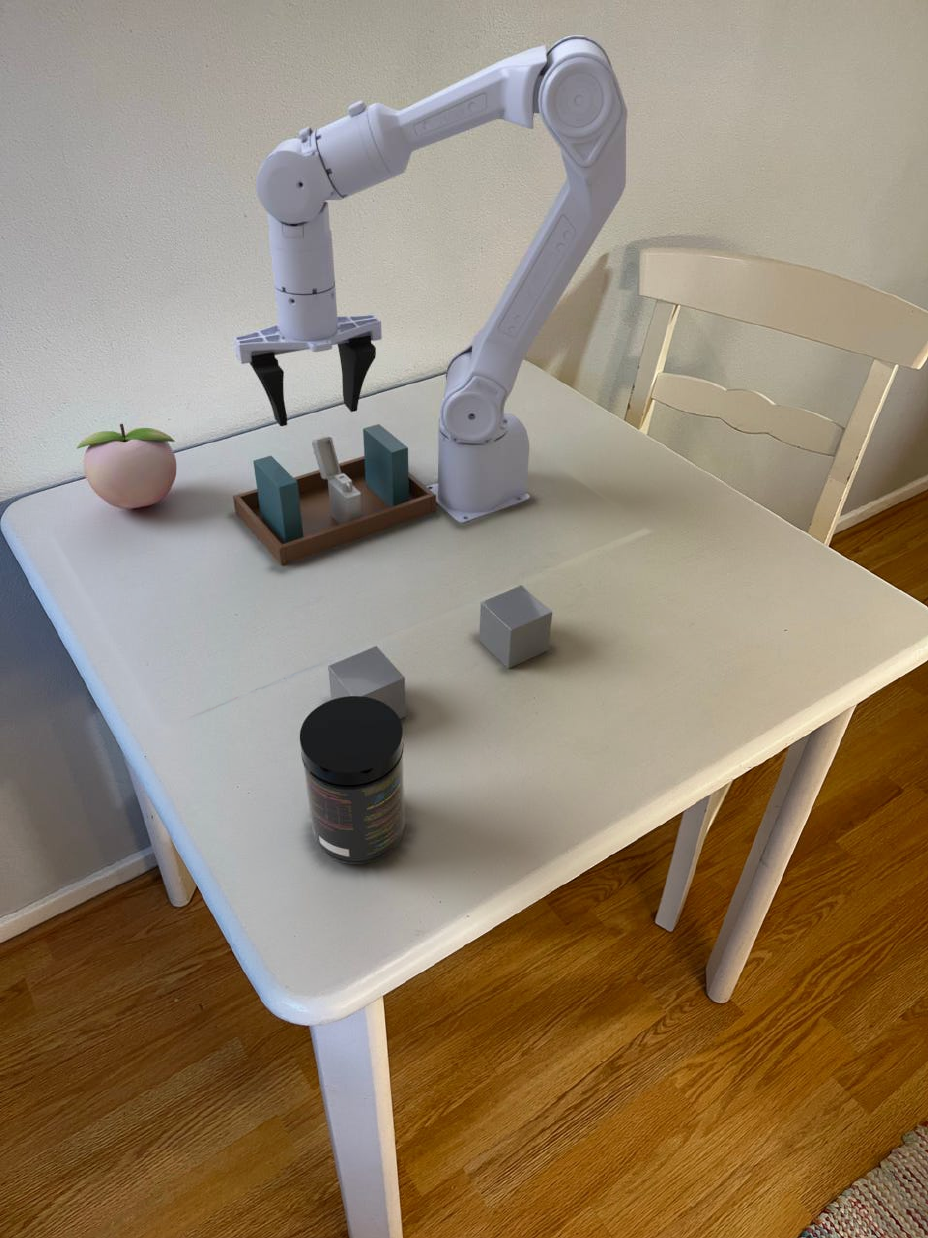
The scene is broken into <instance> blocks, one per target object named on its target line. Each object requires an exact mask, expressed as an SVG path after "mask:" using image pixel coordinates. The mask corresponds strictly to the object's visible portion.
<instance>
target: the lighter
mask: <svg viewBox="0 0 928 1238" xmlns="http://www.w3.org/2000/svg"><path fill="white" fill-rule="evenodd" d="M311 445H312V448H313V452H314V455H315V459H316V463H317V467H318V470H320V474H321V477H322V479H325V480H328V488H329V500H330V512H331V516H332V517H333V518H334V519H335V520H336V521H337V522H338V523H339V524H340V525H341V524H343V523H346V522H349V521H352V520H355V519H358V518H361V517H362V506H361V493H360V492H359V491H358V490H357V489H356V488H355V487H354V486H353V485H352V480H351V479H350V478H348V477H347V476H346V475H345V474H344V473H343V474H341V470H340V466H339V463H340V462H339V460H338V456H337V452H336V448H335V445H334V440H333V438H332V437H331V436H323V437H320V438H316V439H314V440H312V442H311Z"/></svg>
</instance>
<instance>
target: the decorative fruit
mask: <svg viewBox="0 0 928 1238" xmlns="http://www.w3.org/2000/svg"><path fill="white" fill-rule="evenodd" d="M119 428H120V432H118V431H117V432H116V431H114V430H113V431H111V430H103V431H98V432H95V433H92V434H90V435H88V436H87V437H86V438H84V439H83V440H82V441H81V442H80V443H79V444H78V445H77V447H76V449H80V448H81V449H82V448H85V447H87V448H86V450H85V452H84V456H83V472H84V476H85V479H86V481H87V483H88V485H89V486H90V488H91V489H92V491H93V492H94V493H95V494H96V495H97V496H98V497H99V498H100V499H102V500H103V501H104V502H105V503H107V504H109V505H111V506H113V507H115V508H119V509H127V510H130V509H131V510H132V509H139V508H143V507H148V506H152V505H155V504H156V503H159V502H160V501H162V500H163V499H164V498H165V497H166V496H167V495H168V494H169V493H170V491H171V490H172V487H173V485H174V483H175V480H176V475H177V460H176V455H175V452H174V450H173V447H172V446H171V444H170V442H171V443H175V440H174V439H173V438H172V437H171V436H170V435H169V434H167V433H165V432H163V431H161V430H159V429H156V428H152V427H136V428H135V427H134V428H131V429H128V430H126V431H125V427H124V424H123V423H120V424H119Z"/></svg>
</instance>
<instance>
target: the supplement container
mask: <svg viewBox="0 0 928 1238" xmlns="http://www.w3.org/2000/svg"><path fill="white" fill-rule="evenodd" d="M299 744H300V745H299V746H300V754H301V755H300V756H301V760H302V765H303V769H304V777H305V784H306V791H307V798H308V799H307V800H308V806H309V811H310V812H309V815H310V821H311V828H312V834H313V838H314V841H315V843H316V844H317V846H318V848H319V849H320V850H321V851H322V852H323V853H324V854H325V855H327V856H328V857H329V858H331V859H333V860H335V861H337V862H340V863H344V864H348V865H363V864H368V863H372V862H376V861H377V860H380V859H382V858H383V857H385V856H386V855H388V854H389V853H391V851H392V850H393V849H395V848H396V846H397V845H398V843H400V840H401V839H402V836H403V834H404V830H405V824H406V823H405V822H406V820H405V785H404V784H405V783H404V781H405V779H404V750H405V749H404V747H405V746H404V745H405V744H404V728H403V723H402V721H401V719H399V717H398V715H397V714H396V713H395V711H394V710H393V709H392V708H390V707H389V706H388V705H386V704H385V703H383V702H381V701H378V700H376V699H372V698H368V697H362V696H348V697H341V698H337V699H333V700H328V701H325V702H324V703H322V704H320V705H318V706H317V707H316V708H314V709H313V710H312V711H311V712H310V713H309V714H308V715H307V716H306V718H305V719H304V721H303V723H302V724H301V727H300V731H299Z"/></svg>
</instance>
